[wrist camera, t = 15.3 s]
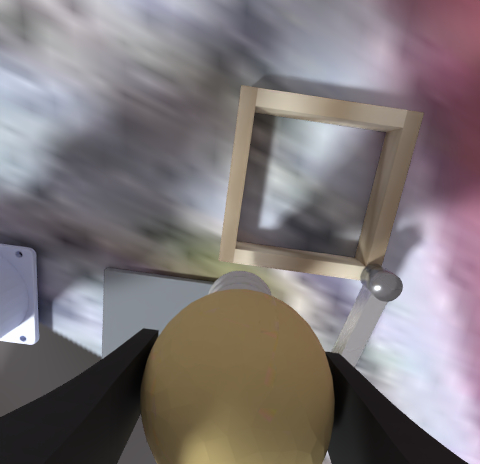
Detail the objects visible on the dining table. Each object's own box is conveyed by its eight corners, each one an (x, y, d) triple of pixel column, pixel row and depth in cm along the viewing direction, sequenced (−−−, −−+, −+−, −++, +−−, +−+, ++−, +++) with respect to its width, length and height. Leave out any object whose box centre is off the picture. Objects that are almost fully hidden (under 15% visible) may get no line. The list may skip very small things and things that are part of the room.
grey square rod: (306, 441, 21) (312, 466, 20) (285, 436, 21) (288, 459, 20) (391, 268, 18) (407, 279, 16) (367, 260, 18) (380, 270, 16)
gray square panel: (103, 396, 24) (100, 401, 23) (107, 267, 21) (104, 269, 20) (240, 413, 24) (240, 418, 23) (261, 288, 21) (262, 291, 21)
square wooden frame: (221, 251, 20) (218, 260, 18) (241, 94, 18) (241, 85, 16) (364, 271, 21) (377, 282, 19) (404, 118, 18) (424, 112, 16)
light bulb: (274, 230, 15) (329, 323, 6) (305, 326, 17) (397, 542, 7) (170, 265, 16) (54, 407, 6) (208, 356, 17) (163, 598, 7)
